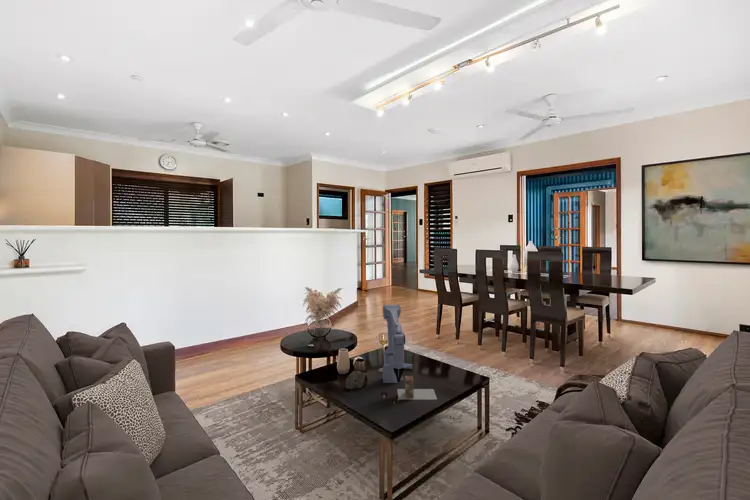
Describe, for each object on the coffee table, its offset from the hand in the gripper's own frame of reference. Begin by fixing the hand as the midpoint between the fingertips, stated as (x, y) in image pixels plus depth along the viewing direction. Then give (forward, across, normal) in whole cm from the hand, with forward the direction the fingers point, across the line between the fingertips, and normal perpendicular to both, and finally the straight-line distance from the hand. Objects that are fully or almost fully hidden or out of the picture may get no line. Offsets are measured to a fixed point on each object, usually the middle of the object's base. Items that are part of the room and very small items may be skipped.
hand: (398, 381), depth 191 cm
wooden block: (+7, +6, 0) cm, 9 cm away
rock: (+8, -22, +11) cm, 26 cm away
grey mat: (+8, +10, +1) cm, 12 cm away
